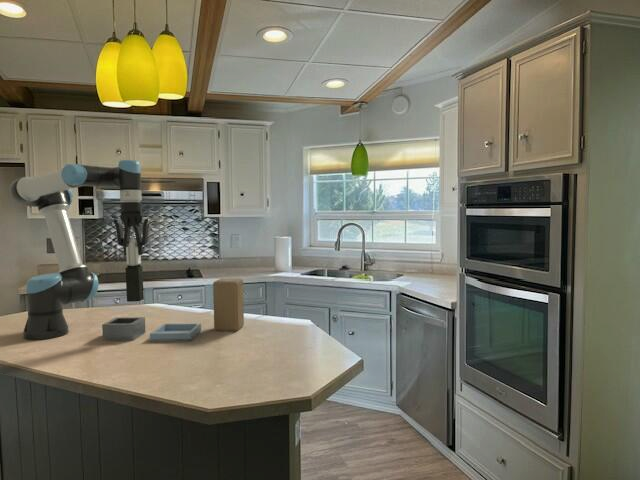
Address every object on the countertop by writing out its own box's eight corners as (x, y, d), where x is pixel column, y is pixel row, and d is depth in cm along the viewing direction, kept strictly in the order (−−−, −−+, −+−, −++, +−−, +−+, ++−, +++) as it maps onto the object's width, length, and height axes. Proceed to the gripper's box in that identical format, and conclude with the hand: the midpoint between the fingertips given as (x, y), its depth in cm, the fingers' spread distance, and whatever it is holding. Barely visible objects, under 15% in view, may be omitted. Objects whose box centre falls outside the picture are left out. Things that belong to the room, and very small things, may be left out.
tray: (150, 341, 168) (149, 333, 168) (164, 330, 183) (163, 323, 183) (190, 341, 168) (190, 333, 168) (201, 330, 183) (201, 323, 183)
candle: (139, 301, 172) (136, 235, 171) (125, 301, 172) (122, 235, 171) (144, 298, 177) (141, 234, 176) (131, 299, 177) (128, 234, 176)
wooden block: (244, 325, 191) (243, 278, 190) (237, 331, 181) (236, 281, 180) (221, 325, 192) (220, 277, 191) (213, 331, 182) (212, 281, 181)
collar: (102, 340, 170) (102, 324, 170) (116, 332, 182) (116, 317, 181) (133, 340, 170) (133, 324, 170) (145, 332, 181) (145, 317, 181)
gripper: (105, 202, 169) (108, 265, 170) (148, 200, 169) (150, 264, 170) (114, 202, 176) (117, 263, 178) (155, 201, 176) (158, 262, 177)
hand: (133, 263), depth 174 cm, fingers closed on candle, 3 cm apart
